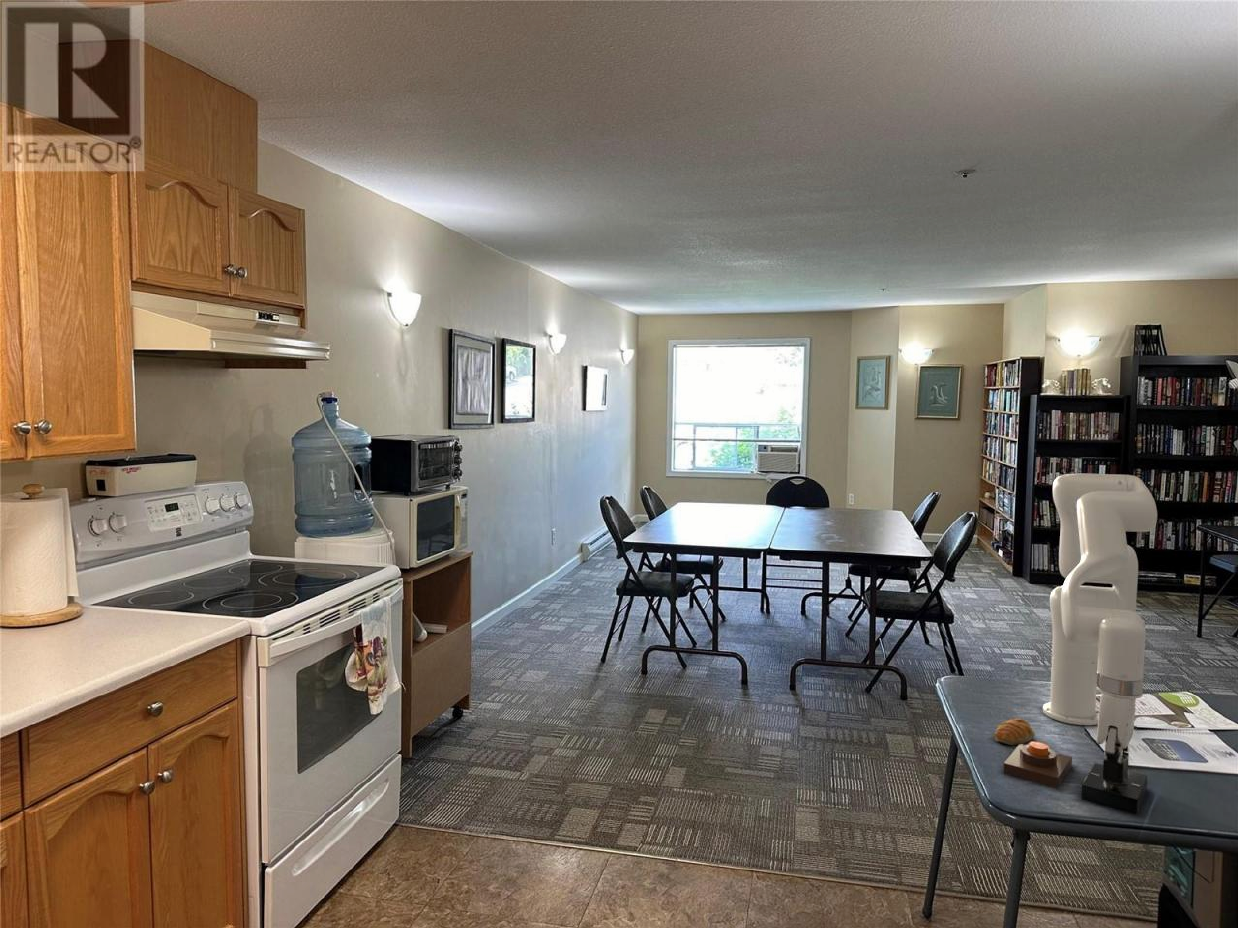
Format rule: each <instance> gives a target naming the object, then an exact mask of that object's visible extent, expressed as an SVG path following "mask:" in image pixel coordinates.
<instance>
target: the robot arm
mask: <svg viewBox="0 0 1238 928" xmlns="http://www.w3.org/2000/svg"><path fill="white" fill-rule="evenodd" d="M1052 498H1053V502H1054V505H1055V508H1056V511H1057V513H1058V516H1059V522H1060V531H1059V532H1060V536H1059V552H1058V569H1059V573H1060V575H1061V577H1063V578H1064V579H1065V580H1064V582H1063V585H1061V586H1057V587H1056V588H1054V589H1053V590H1052V591H1051V592H1050V594H1049V595H1050V596H1049V609H1050V616H1051V626H1052V627H1051V628H1052V641H1051V642H1052V645H1051V671H1050V695H1049V697H1050V698H1049V701H1048V702H1045V703H1043V705H1042V712H1043V713H1044V715H1046V716H1047V717H1048V718H1051V719H1053V720H1055V721H1058V722H1061V723H1065V724H1069V725H1076V726H1094V725H1097V729H1096V740H1095V741H1096V743H1097V744H1098V745H1101V744H1102V745H1103V744H1104V743H1105V745H1104V752H1105V755H1104V754H1103V761H1102V762H1103V764H1102V765H1103V779H1104V780H1106V781H1110V782H1114V783H1118V784H1122V782H1123V764H1124V763H1122V754H1123V753H1124V754H1126V755H1127V756H1128V757H1129V758H1130V753H1129V743H1130V742H1131V741H1132V738H1133V735H1134V730H1135V729H1134V728H1135V719H1136V699H1139V698H1142V697H1143V694H1144V677H1145V676H1144V675H1145V653H1146V631H1147V629H1146V622H1145V620H1144V619H1143V618H1142V617H1141V615H1140V614H1139V613H1138V612H1137V611H1136V610H1137V596H1138V580H1139V561H1138V556H1137V553H1136V551H1135V549H1134V548H1133V547H1132V546H1130V545H1129V544H1128V540H1127V534H1126V533H1127V532H1134V533H1135V532H1137V533H1147V532H1151V531H1152V530H1154V529H1155V527H1156V525H1157V521H1158V509H1157V505H1156V501H1155V499H1154V497H1153V494H1152V493H1151V491H1150V490H1149V488H1148V487H1147V486H1146V484H1145V483H1144V481H1143V480H1142V479H1141V478H1140V477H1138V476H1136V475H1131V474H1114V473H1113V474H1111V473H1110V474H1109V473H1066V474H1062V475H1061V474H1060V475H1059V476H1057V477H1056V478H1055V479H1054V481H1053V484H1052ZM1085 583H1097V584H1110V585H1112V587H1107V586H1105V587H1104V586H1093V585H1083V584H1085ZM1097 691H1098V692H1100V693H1101V694H1100V700H1099V707H1098V709H1096V705H1097ZM1115 751H1118V753H1117V752H1115Z"/></svg>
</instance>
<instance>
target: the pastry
mask: <svg viewBox="0 0 1238 928" xmlns="http://www.w3.org/2000/svg"><path fill="white" fill-rule="evenodd" d="M1035 735H1036V734H1035V731H1034V730H1033V728H1032V726H1031V725H1030V723H1029V722H1028V721H1026V720H1025V719H1022V718H1011V719H1009V720H1007V721H1003V722H1001V723H1000V724H999V725H998V726H997V727H996V729H995V733H994V739H995V742H1000V743H1003V744H1005V745H1009V746H1016V745H1020V744H1023V745H1024V744H1025V743H1028V742H1032V740H1033V739H1034V737H1035Z"/></svg>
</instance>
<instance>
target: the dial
mask: <svg viewBox="0 0 1238 928" xmlns="http://www.w3.org/2000/svg"><path fill="white" fill-rule="evenodd" d="M1115 752H1117V753H1118V751H1115ZM1104 755H1105V751H1104V752H1103V756H1104ZM1129 758H1130V756H1129V757H1128V756H1127V755H1126V754H1124V753H1123V754H1122V763H1124V764H1123V782H1122V784H1118V783H1114V782H1110V781H1107V782H1110V783H1113V784H1117V785H1125V784H1127V781H1128V771H1129Z"/></svg>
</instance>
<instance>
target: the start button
mask: <svg viewBox="0 0 1238 928" xmlns="http://www.w3.org/2000/svg"><path fill="white" fill-rule="evenodd" d="M1028 745H1029V753H1031V754H1034V755H1037V756H1048V752H1049V749H1050V747H1049V745H1048V744H1046V743H1044V742H1041V741H1029V743H1028Z"/></svg>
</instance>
